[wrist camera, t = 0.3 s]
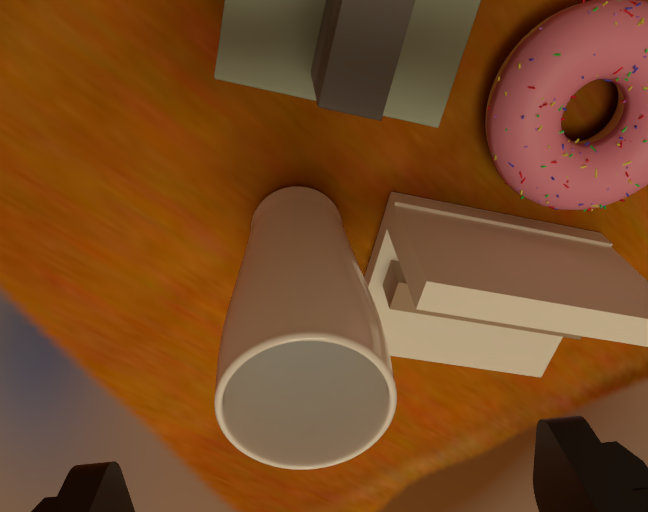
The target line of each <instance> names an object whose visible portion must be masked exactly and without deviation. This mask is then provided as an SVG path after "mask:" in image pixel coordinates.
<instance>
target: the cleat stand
mask: <svg viewBox="0 0 648 512" xmlns="http://www.w3.org/2000/svg"><path fill="white" fill-rule="evenodd" d="M612 245H613V244H612V243H611V242H610V241H609V240H608V239H607V238H606V237H605V236H603V235H602V234H601V233H600V232H594V231H589V230H584V229H579V228H574V227H569V226H564V225H559V224H554V223H549V222H544V221H539V220H534V219H528V218H523V217H518V216H513V215H508V214H503V213H498V212H493V211H488V210H483V209H478V208H473V207H468V206H462V205H457V204H452V203H447V202H442V201H437V200H432V199H427V198H422V197H417V196H412V195H407V194H402V193H396V192H391V193H390V196H389V200H388V203H387V206H386V209H385V212H384V216H383V219H382V222H381V225H380V228H379V232H378V235H377V238H376V241H375V244H374V248H373V251H372V254H371V257H370V260H369V264H368V267H367V270H366V273H365V276H364V279H365V281H366V283H367V286H368V288H369V291H370V293H371V295H372V298H373V300H374V303H375V306H376V308H377V311H378V314H379V317H380V320H381V323H382V326H383V329H384V333H385V336H386V340H387V345H388V349H389V354H390V356H397V357H404V358H411V359H418V360H424V361H431V362H438V363H445V364H452V365H459V366H466V367H472V368H479V369H486V370H493V371H500V372H507V373H514V374H520V375H527V376H534V377H542V375H543V373H544V371H545V369H546V367H547V365H548V364H549V362H550V360H551V358H552V356H553V354H554V352H555V351H556V349H557V347H558V345H559V343H560V341H561V339H562V338H563V337H567V338H574V339H581V337H582V336H584V337H591V338H597V339H603V340H609V341H615V342H622V343H628V344H634V345H640V346H646V347H648V281H647V280H646V279H645V278H644V277H642V276H641V275H640V274H639V273H638V272H637V271H636V270H635V269H634V268H633V267H632V266H631V265H630V264H629V263H628V262H627V261H625V260H624V259H623V258H622V257H621V256H620V255H619V254H618V253H617V252H616V251H615V250H614V249H613V248H612V247H611V246H612Z"/></svg>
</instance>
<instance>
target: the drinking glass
mask: <svg viewBox="0 0 648 512" xmlns="http://www.w3.org/2000/svg"><path fill="white" fill-rule="evenodd" d="M396 404H397V391H396V385H395V380H394V374H393V368H392V363H391V358H390V354H389V349H388V345H387V340H386V336H385V333H384V329H383V326H382V323H381V320H380V317H379V314H378V311H377V308H376V306H375V303H374V300H373V298H372V295H371V293H370V291H369V288H368V286H367V283H366V281H365V279H364V276H363V274H362V272H361V269H360V267H359V264H358V262H357V260H356V257H355V255H354V252H353V250H352V247H351V245H350V243H349V240H348V238H347V235H346V232H345V230H344V226H343V221H342V218H341V215H340V212H339V210H338V209H337V207H336V205H335V204H334V203H333V202H332V201H331V200H330V199H329V198H328V197H327V196H326V195H324V194H323V193H321V192H319V191H317V190H315V189H312V188H308V187H302V186H292V187H286V188H282V189H279V190H277V191H275V192H273V193H271V194H270V195H268V196H267V197H266V198H265V199H264V200H263V201H262V202H261V203H260V204H259V205H258V207H257V209H256V210H255V212H254V214H253V217H252V221H251V227H250V235H249V239H248V242H247V246H246V249H245V253H244V256H243V260H242V263H241V267H240V270H239V273H238V277H237V280H236V283H235V287H234V290H233V293H232V297H231V300H230V303H229V307H228V310H227V314H226V318H225V322H224V326H223V331H222V336H221V342H220V348H219V355H218V364H217V374H216V388H215V400H214V405H215V414H216V418H217V421H218V424H219V426H220V428H221V430H222V432H223V433H224V435H225V436H226V437H227V439H228V440H229V441H230V442H231V443H232V444H233V445H234V446H235V447H236V448H237V449H239V450H240V451H241V452H243V453H244V454H246V455H247V456H249V457H251V458H253V459H255V460H257V461H259V462H262V463H265V464H268V465H271V466H275V467H280V468H286V469H297V470H305V469H317V468H324V467H328V466H332V465H336V464H339V463H342V462H345V461H347V460H349V459H352V458H354V457H356V456H357V455H359V454H361V453H362V452H364V451H366V450H367V449H368V448H370V447H371V446H372V445H373V444H374V443H375V442H376V441H378V440H379V438H380V437H381V436H382V435H383V434H384V432H385V431H386V430H387V428H388V426H389V425H390V423H391V421H392V418H393V416H394V413H395V409H396Z"/></svg>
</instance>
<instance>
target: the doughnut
mask: <svg viewBox="0 0 648 512" xmlns="http://www.w3.org/2000/svg"><path fill="white" fill-rule="evenodd" d="M597 79H604V80H605V81H610V82H613V83H615V84H616V87H617V89H618V104H617V108H616V110H615V113H614V115H613V117H612V118H611V120H610V121H609V123H608V124H607V125H606V126H605V127H604V128H603V129H602V130H601V131H600V132H599V133H597V134H596V135H594V136H593V137H591V138H589V139H586V140H583V141H579V139H577V140H576V141H572V140H570V139H569V138H568V137H566V135H565V134H564V130H563V131H562V127H561V120H565V118H562V115H563V112H564V111H566V110H567V109H565V107H566V105H567V103H568V102H569V100H570V99H571V98H576V96H573V95H574V94H575V93H576V92H577V91H578V90H579V89H580V88H581V87H583V86H584V85H585V84H587V83H589V82H591V81H593V80H597ZM485 126H486V137H487V142H488V146H489V150H490V154H491V157H492V160H493V162H494V165H495V167H496V169H497V171H498V173H499V174H500V176H501V177H502V178H503V180H504V181H505V182H506V183H505V184H508V185H509V186H510V187H511V188H512V189H513V190H514V191H515V192H517V193H518V194H520V195H522V197H521V199H523V198H524V197H525V198H527V199H529V200H531V201H533V202H535V203H538V204H540V205H543V206H547V207H550V208H552V209H555V210H556V209H565V210H583V209H584V210H583V211H584V212H585V211H586V210H587V209H588V210H587V211H588V212H589V211H590V210H591V211H593V209H594V208H597V207H600V208H602V207H604V209H606V205H608V204H611V203H613V202H616V201H619V200H620V201H623V202H624V201H625V200H623V198H625V197H628V196H629V195H631V194H633V193H635V192H637V191H638V190H640V189H642V188H643V187H645V186H646V185H648V1H647V0H590V1H587V2H585V0H583V1H582V3H580V4H577V5H574V6H571V7H568V8H566V9H564V10H561V11H559V12H557V13H556V14H554V15H552V16H550V17H549V18H547V19H545V20H544V21H542V22H541V23H540V24H538V25H537V26H536V27H534V28H533V29H532V30H531V31H530V32H529V33H527V34H526V35H525V36H524V37H523V38H522V39H521V40H520V42H519V43H518V44H517V45H516V46H515V47H514V48H513V50H512V51H511V52H510V54H509V55H508V57H507V58H506V59H505V61H504V63H503V64H502V66H501V68H500V70H499V71H498V73H497V76H496V78H495V80H494V82H493V85H492V88H491V91H490V94H489V98H488V103H487V108H486V120H485Z"/></svg>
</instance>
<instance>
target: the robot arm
mask: <svg viewBox="0 0 648 512" xmlns="http://www.w3.org/2000/svg"><path fill="white" fill-rule="evenodd" d="M533 488H534V494H535V499H536V502H537V506H538V509H539V512H648V467H647V466H646V465H645V463H644V462H643V461H642V460H640V459H639V458H638V457H637V456H635V455H634V454H633V453H631V452H630V451H629V450H627V449H626V448H625V447H623V446H622V445H620V444H619V443H618V442H616V441H615V442H606V443H601V442H600V440H599V439H598V437H597V436H596V434H595V433H594V431H593V430H592V428H591V427H590V425H589V424H588V423H587V422H586V420H585V419H584V418H583V417H582V416H571V417H561V418H551V419H541V420H539V422H538V424H537V431H536V444H535V457H534V471H533ZM31 512H135V511H134V507H133V504H132V501H131V498H130V495H129V492H128V489H127V486H126V483H125V480H124V477H123V474H122V471H121V468H120V466H119V464H118V463H116V462H105V463H95V464H85V465H76V466H74V467H73V468H72V469H71V470H70V471H69V473H68V475H67V477H66V479H65V481H64V483H63V485H62V487H61V489H60V491H59V493H58V496H57V497H47V498H44V499H43V500H42V501H41V502H40V503H39V504H38V505H37V506H36V507H35V508H34V509H33V510H32V511H31Z"/></svg>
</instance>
